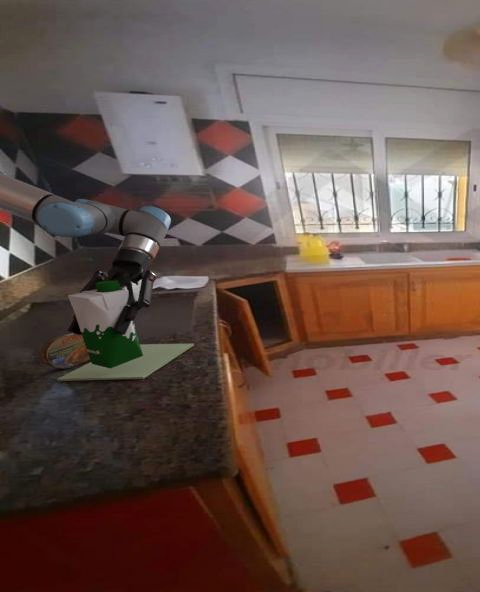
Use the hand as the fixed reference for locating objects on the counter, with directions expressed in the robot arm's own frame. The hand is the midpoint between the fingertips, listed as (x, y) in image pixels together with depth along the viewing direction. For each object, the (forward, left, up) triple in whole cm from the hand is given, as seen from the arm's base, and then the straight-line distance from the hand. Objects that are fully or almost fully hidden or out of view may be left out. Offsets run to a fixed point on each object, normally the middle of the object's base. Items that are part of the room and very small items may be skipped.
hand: (96, 332), depth 75 cm
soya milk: (0, +3, -9) cm, 10 cm away
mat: (-3, +10, -13) cm, 17 cm away
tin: (-17, +11, -13) cm, 24 cm away
